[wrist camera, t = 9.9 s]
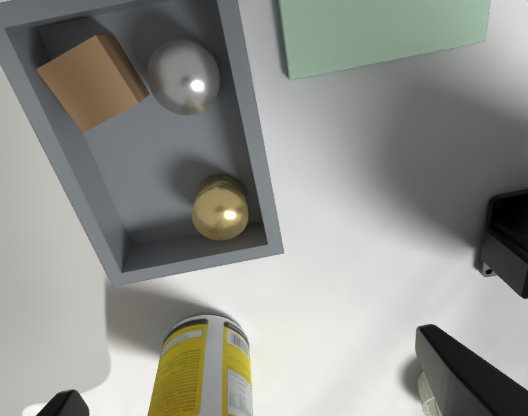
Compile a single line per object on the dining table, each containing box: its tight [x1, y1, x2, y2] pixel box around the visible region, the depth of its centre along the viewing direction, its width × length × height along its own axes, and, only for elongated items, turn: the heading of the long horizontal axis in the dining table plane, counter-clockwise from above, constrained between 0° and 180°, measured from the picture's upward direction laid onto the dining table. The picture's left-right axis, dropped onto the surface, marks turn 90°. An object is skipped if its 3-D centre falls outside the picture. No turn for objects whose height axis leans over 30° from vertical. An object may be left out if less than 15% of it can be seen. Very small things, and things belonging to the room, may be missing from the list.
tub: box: [0, 0, 284, 286], centre depth 18 cm, size 10×14×3 cm
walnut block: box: [36, 34, 150, 133], centre depth 16 cm, size 3×3×2 cm
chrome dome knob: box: [147, 38, 221, 115], centre depth 16 cm, size 3×3×2 cm
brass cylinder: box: [192, 174, 248, 240], centre depth 19 cm, size 3×3×2 cm
